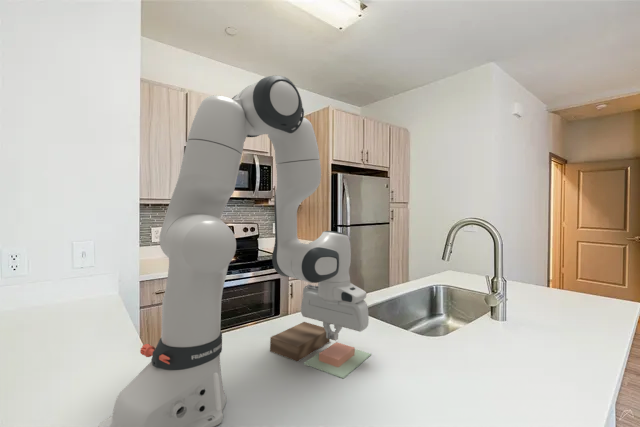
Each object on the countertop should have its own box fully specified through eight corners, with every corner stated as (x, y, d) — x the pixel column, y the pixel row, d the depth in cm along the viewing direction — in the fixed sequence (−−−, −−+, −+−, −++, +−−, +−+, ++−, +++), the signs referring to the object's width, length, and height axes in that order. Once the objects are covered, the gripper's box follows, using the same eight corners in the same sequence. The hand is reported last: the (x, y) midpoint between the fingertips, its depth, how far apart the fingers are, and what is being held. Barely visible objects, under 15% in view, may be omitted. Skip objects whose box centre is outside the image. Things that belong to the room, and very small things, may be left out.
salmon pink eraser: (319, 353, 84) (318, 360, 84) (338, 359, 80) (338, 367, 80) (336, 342, 91) (336, 348, 91) (354, 347, 88) (354, 354, 88)
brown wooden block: (297, 361, 83) (298, 346, 83) (269, 351, 89) (270, 337, 89) (329, 341, 97) (330, 329, 97) (303, 333, 102) (304, 321, 102)
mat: (343, 378, 76) (343, 377, 76) (303, 363, 82) (303, 362, 82) (371, 354, 89) (371, 353, 89) (335, 343, 96) (335, 342, 96)
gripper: (297, 285, 90) (295, 333, 90) (361, 298, 79) (359, 353, 79) (309, 281, 95) (308, 326, 95) (371, 293, 84) (370, 344, 84)
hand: (332, 338), depth 87 cm, fingers closed
